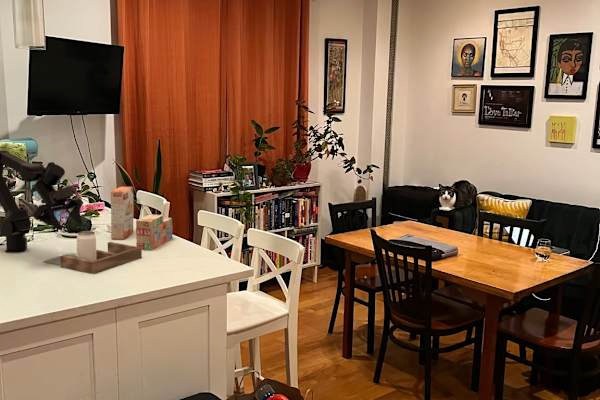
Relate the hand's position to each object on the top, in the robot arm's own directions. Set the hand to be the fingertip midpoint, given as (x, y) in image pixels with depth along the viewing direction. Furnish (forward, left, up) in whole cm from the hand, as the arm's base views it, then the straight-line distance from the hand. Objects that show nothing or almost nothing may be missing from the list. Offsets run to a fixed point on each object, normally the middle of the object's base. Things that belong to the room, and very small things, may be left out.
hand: (71, 226), depth 211 cm
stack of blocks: (+29, +25, -14) cm, 40 cm away
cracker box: (+15, +40, -13) cm, 44 cm away
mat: (-3, +2, -13) cm, 14 cm away
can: (+6, -4, -13) cm, 15 cm away
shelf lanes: (+11, -1, -13) cm, 17 cm away
